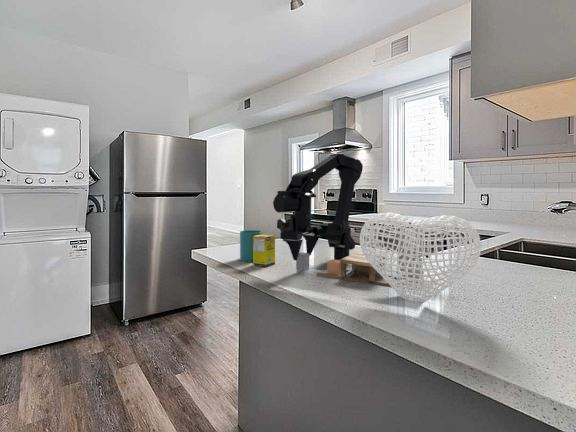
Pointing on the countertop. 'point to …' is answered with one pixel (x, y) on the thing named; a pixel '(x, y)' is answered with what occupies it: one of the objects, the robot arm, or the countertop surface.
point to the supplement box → (264, 250)
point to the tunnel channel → (358, 270)
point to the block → (334, 267)
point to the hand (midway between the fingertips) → (302, 257)
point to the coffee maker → (413, 251)
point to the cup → (247, 244)
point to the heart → (440, 219)
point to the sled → (303, 264)
